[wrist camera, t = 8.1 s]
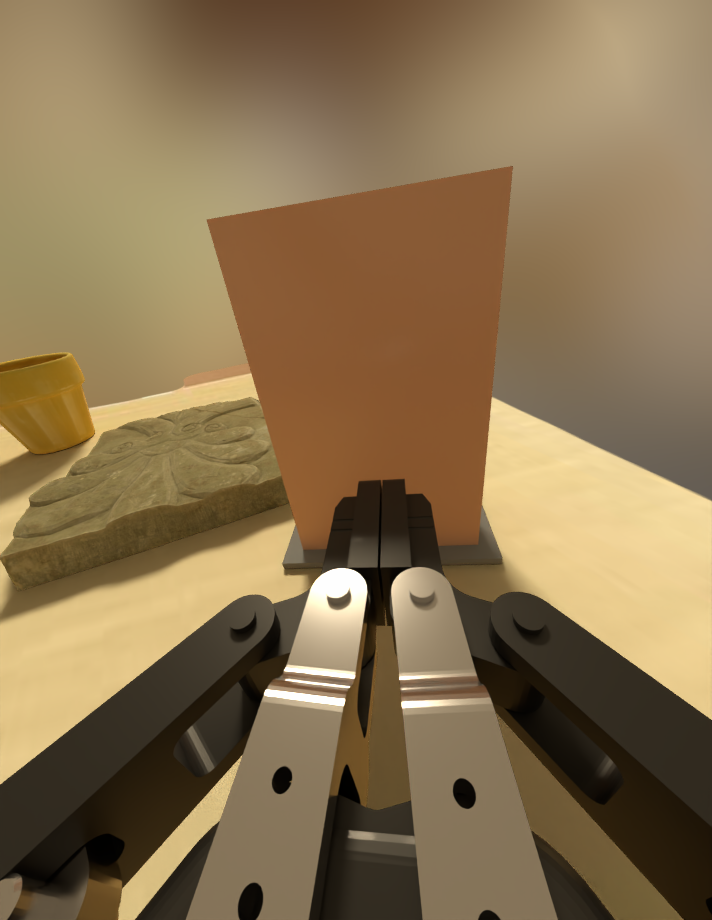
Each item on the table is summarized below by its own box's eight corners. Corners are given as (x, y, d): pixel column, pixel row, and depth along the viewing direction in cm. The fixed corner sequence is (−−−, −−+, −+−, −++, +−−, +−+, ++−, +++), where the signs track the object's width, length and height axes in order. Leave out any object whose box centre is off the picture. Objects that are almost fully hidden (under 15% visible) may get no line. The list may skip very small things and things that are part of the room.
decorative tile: (264, 416, 41) (257, 389, 39) (302, 504, 25) (291, 465, 23) (97, 459, 36) (80, 431, 35) (6, 604, 20) (-36, 564, 18)
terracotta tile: (303, 549, 19) (206, 219, 11) (313, 515, 22) (240, 226, 14) (478, 544, 18) (512, 166, 10) (466, 508, 21) (486, 185, 13)
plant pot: (130, 421, 45) (92, 347, 40) (64, 461, 36) (3, 373, 31) (67, 425, 46) (23, 355, 41) (-11, 464, 38) (-79, 382, 33)
